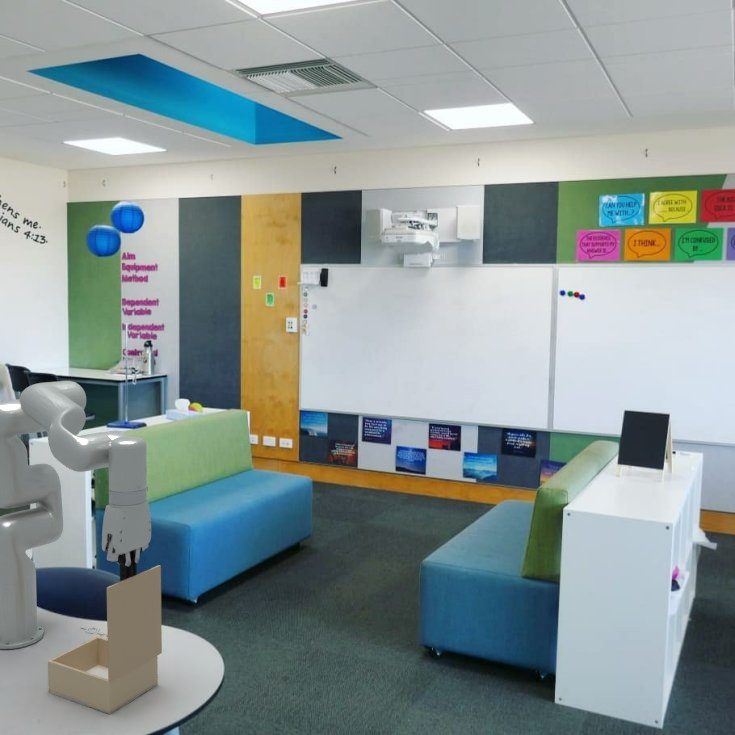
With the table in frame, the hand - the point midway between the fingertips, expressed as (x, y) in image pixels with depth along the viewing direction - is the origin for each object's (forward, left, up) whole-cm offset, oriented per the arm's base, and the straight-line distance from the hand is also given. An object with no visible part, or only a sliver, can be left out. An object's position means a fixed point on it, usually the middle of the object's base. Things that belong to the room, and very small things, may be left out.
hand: (128, 581), depth 164 cm
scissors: (-25, +19, -26) cm, 41 cm away
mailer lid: (+2, 0, -8) cm, 8 cm away
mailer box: (-8, 0, -26) cm, 27 cm away
